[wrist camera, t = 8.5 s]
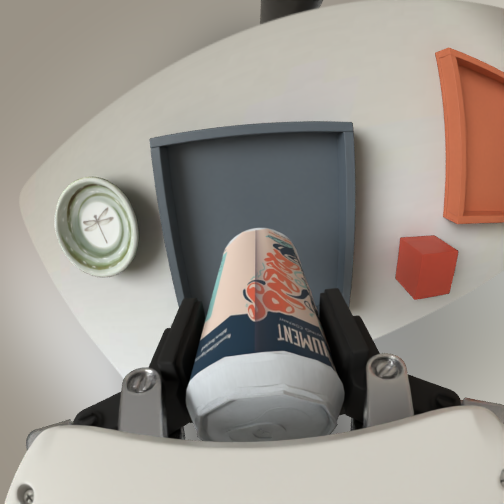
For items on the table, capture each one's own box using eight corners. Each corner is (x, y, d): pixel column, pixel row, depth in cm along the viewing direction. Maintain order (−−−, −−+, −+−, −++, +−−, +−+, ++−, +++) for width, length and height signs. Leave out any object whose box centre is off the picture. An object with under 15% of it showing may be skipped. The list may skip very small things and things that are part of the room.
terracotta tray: (434, 52, 17) (448, 47, 14) (516, 87, 16) (529, 87, 14) (442, 216, 23) (457, 224, 21) (517, 216, 23) (530, 222, 20)
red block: (399, 237, 24) (422, 254, 20) (434, 235, 24) (458, 250, 20) (395, 278, 26) (414, 300, 22) (428, 274, 26) (449, 293, 22)
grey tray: (159, 138, 21) (149, 138, 19) (342, 124, 21) (352, 122, 18) (189, 316, 28) (184, 331, 25) (341, 306, 27) (347, 320, 25)
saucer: (102, 282, 27) (91, 293, 24) (54, 210, 24) (40, 216, 21) (166, 238, 25) (157, 247, 22) (111, 153, 22) (98, 154, 19)
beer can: (309, 277, 18) (364, 440, 7) (244, 304, 19) (233, 472, 8) (278, 212, 16) (324, 354, 5) (208, 245, 17) (144, 405, 6)
